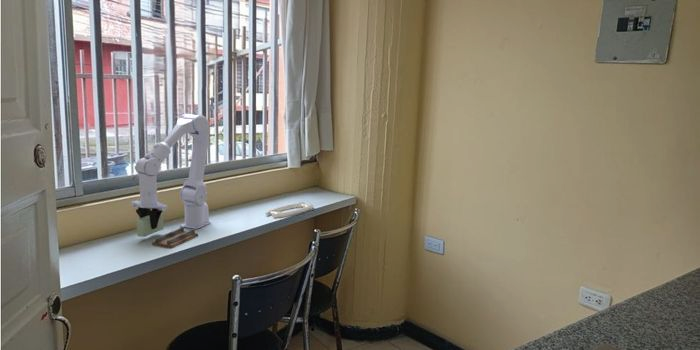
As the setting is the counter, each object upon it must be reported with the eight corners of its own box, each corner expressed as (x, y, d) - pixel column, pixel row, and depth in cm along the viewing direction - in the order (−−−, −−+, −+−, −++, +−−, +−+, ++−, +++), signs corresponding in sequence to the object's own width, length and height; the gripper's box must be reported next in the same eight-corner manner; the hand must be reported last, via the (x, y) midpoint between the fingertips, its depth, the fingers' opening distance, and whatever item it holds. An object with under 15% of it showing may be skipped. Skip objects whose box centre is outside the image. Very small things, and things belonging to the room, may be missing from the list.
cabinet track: (180, 232, 186) (180, 226, 185) (198, 235, 183) (197, 229, 183) (152, 244, 172) (152, 238, 172) (171, 248, 169) (170, 241, 169)
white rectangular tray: (261, 216, 214) (302, 205, 233) (276, 220, 207) (317, 209, 226) (261, 210, 213) (302, 200, 232) (276, 214, 207) (317, 204, 226)
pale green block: (156, 228, 184) (155, 212, 183) (163, 229, 183) (162, 213, 182) (137, 235, 175) (136, 219, 174) (144, 237, 174) (143, 220, 173)
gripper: (123, 191, 175) (126, 228, 177) (157, 196, 170) (158, 233, 173) (138, 187, 181) (140, 222, 184) (170, 191, 177) (172, 227, 179)
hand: (150, 227), depth 179 cm, fingers closed on pale green block, 3 cm apart
